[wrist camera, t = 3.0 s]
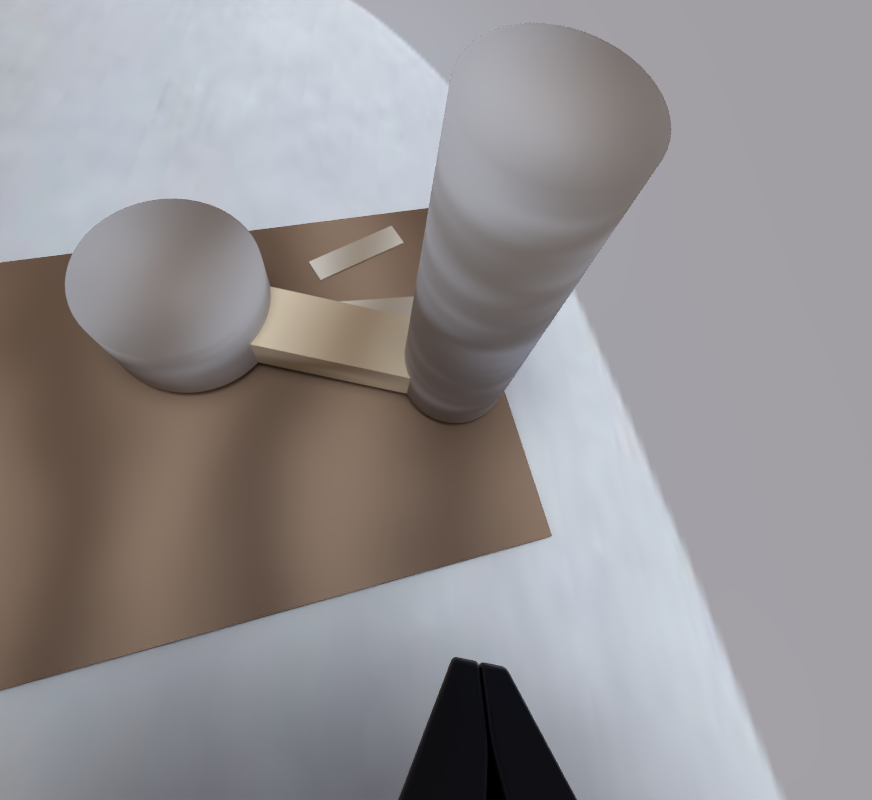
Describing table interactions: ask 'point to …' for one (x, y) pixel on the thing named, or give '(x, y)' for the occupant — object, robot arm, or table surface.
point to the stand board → (227, 470)
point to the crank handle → (441, 251)
